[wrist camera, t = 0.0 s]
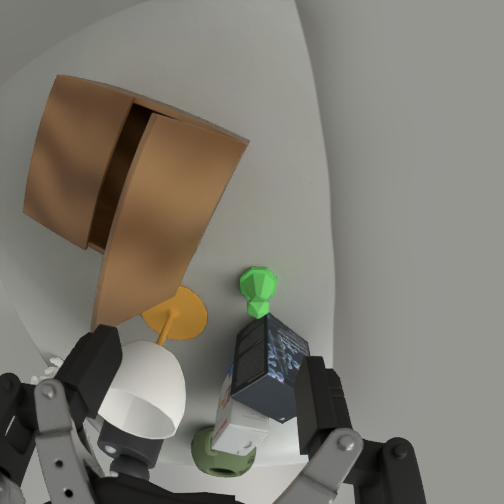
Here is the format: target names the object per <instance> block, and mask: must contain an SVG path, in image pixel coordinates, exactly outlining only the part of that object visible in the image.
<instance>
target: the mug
mask: <svg viewBox="0 0 504 504" xmlns="http://www.w3.org/2000/svg"><path fill="white" fill-rule="evenodd" d="M213 433H214V427H208V428H205V429H203V430H200V431H198V432H197V433H196V434H195V436H194V438H193V440H192V443H191V453H192V457H193V460H194V462H195V464H196V466H197V467H198V468H199V469H200V470H201V471H203V472H204V473H207V474H209V475H213V476H217V477H237V476H241V475H242V474H244V473H245V472H246V471H248V470H249V469H250V468H251V466H252V464H253V462H254V459H255V455H256V447H255V448H254V449H253V450H251V451H250V452H249V453H248V454H247V455H246V456H240V455H235V454H231V453H227V452H223V451H218V450H214V449H211V445H212V439H213Z"/></svg>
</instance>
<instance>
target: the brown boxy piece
mask: <svg viewBox="0 0 504 504" xmlns="http://www.w3.org/2000/svg"><path fill="white" fill-rule="evenodd" d="M152 113H155V114H159V115H162V116H165V117H169V118H172V119H176V120H179V121H182V122H185V123H188V124H192V125H195V126H198V127H201V128H204V129H207V130H210V131H212V132H215V133H218V134H221V135H224V136H227V137H229V138H232V139H235V140H237V141H240V142H243V143H245V144H246V147H245V149H244V151H245V150H246V148H247V146H248V144H249V142H250V141H249V140H247V139H245V138H243V137H241V136H239V135H237V134H235V133H233V132H231V131H228V130H226V129H224V128H222V127H220V126H217V125H215V124H213V123H211V122H208V121H206V120H204V119H201V118H199V117H197V116H194V115H192V114H190V113H187V112H185V111H182V110H180V109H177V108H175V107H172V106H170V105H167V104H164V103H162V102H159V101H156V100H154V99H151V98H148V97H145V96H143V95H140V94H137V93H134V92H131V91H128V90H125V89H122V88H119V87H116V86H112V85H109V84H105V83H101V82H96V81H92V80H87V79H83V78H78V77H72V76H67V75H57V76H56V79H55V81H54V84H53V87H52V89H51V92H50V95H49V98H48V100H47V103H46V106H45V109H44V113H43V116H42V119H41V122H40V126H39V130H38V133H37V137H36V141H35V145H34V149H33V154H32V158H31V163H30V168H29V173H28V179H27V185H26V192H25V199H24V207H23V213H25V214H26V215H28V216H29V217H31V218H32V219H34V220H36V221H37V222H39V223H40V224H42V225H43V226H45V227H47V228H48V229H50V230H52V231H53V232H55V233H56V234H58V235H60V236H61V237H63V238H65V239H66V240H68V241H70V242H72V243H73V244H75V245H77V246H78V247H80V248H82V249H84V250H86V249H87V247H88V246H89V247H91V248H92V249H94V250H96V251H98V252H100V253H101V254H103V255H104V253H105V249H106V245H107V241H108V237H109V233H110V230H111V226H112V222H113V219H114V215H115V212H116V208H117V205H118V202H119V199H120V196H121V192H122V189H123V186H124V183H125V180H126V178H127V175H128V172H129V169H130V166H131V164H132V161H133V158H134V156H135V153H136V150H137V148H138V145H139V143H140V140H141V138H142V135H143V133H144V131H145V128H146V126H147V124H148V121H149V119H150V117H151V115H152ZM244 151H243V153H244ZM243 153H242V154H241V156H240V158H239V160H238V162H237V164H236V166H235V168H234V170H233V172H232V174H231V176H230V178H229V180H228V182H227V184H226V186H225V188H224V190H223V192H222V194H221V196H220V198H219V200H218V202H217V204H216V206H215V208H214V210H213V213H214V211H215V209H216V207H217V205H218V203H219V201H220V199H221V197H222V195H223V193H224V191H225V189H226V187H227V185H228V183H229V181H230V179H231V177H232V175H233V173H234V171H235V169H236V167H237V165H238V163H239V161H240V159H241V157H242V155H243ZM213 213H212V215H213ZM212 215H211V217H212ZM211 217H210V219H209V221H208V223H207V225H206V227H205V229H204V232H205V230H206V228H207V226H208V224H209V222H210V220H211ZM204 232H203V234H204ZM203 234H202V236H201V238H200V240H199V242H198V245H199V243H200V241H201V239H202V237H203ZM198 245H197V247H198ZM197 247H196V249H195V251H194V253H193V255H194V254H195V252H196V250H197ZM192 257H193V256H192ZM191 259H192V258H191ZM190 261H191V260H190ZM189 263H190V262H189Z"/></svg>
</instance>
